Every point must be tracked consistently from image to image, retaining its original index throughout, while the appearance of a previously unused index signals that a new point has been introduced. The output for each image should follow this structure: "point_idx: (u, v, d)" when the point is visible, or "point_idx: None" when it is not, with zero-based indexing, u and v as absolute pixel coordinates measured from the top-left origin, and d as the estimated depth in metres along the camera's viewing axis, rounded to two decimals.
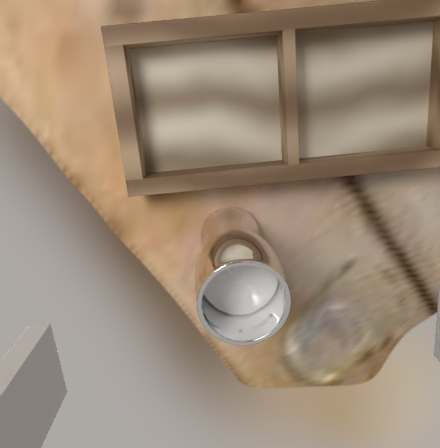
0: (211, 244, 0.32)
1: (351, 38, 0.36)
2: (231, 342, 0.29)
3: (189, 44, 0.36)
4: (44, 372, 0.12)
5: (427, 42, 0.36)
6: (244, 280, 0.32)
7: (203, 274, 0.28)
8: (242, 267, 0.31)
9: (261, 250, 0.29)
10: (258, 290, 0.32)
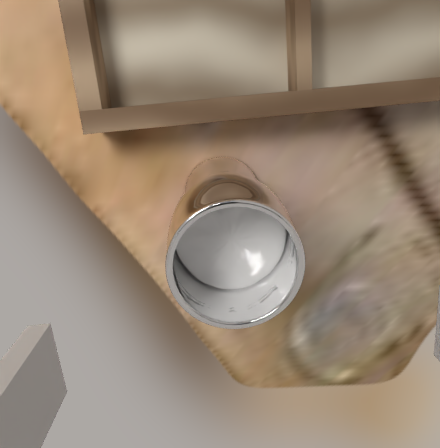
0: (191, 188, 0.22)
1: None
2: (217, 324, 0.20)
3: None
4: (44, 372, 0.12)
5: None
6: (237, 238, 0.23)
7: (176, 224, 0.19)
8: (234, 220, 0.22)
9: (261, 191, 0.20)
10: (257, 254, 0.23)
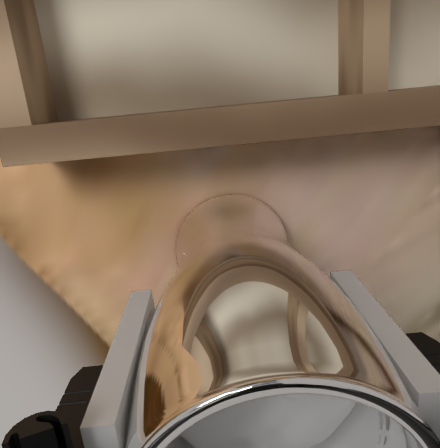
0: (182, 286, 0.11)
1: None
2: None
3: None
4: None
5: None
6: None
7: (144, 406, 0.08)
8: None
9: (335, 316, 0.09)
10: (310, 408, 0.12)
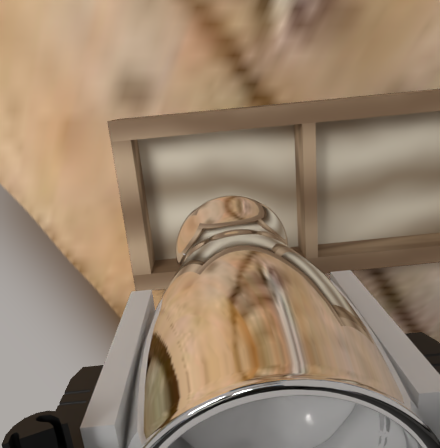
0: (182, 287, 0.11)
1: (373, 124, 0.34)
2: None
3: None
4: None
5: None
6: None
7: (144, 407, 0.08)
8: None
9: (336, 317, 0.09)
10: (310, 409, 0.12)
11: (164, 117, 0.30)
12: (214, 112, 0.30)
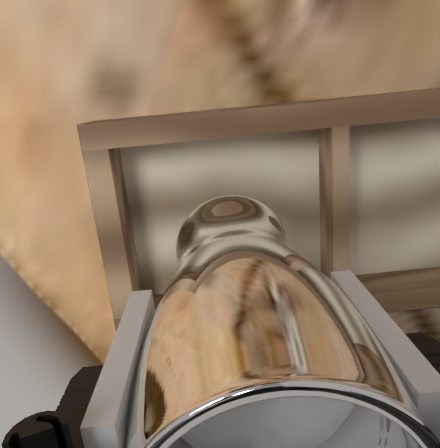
0: (182, 288, 0.11)
1: (419, 127, 0.27)
2: None
3: None
4: None
5: None
6: None
7: (144, 408, 0.08)
8: None
9: (336, 317, 0.09)
10: (310, 410, 0.12)
11: (151, 119, 0.23)
12: (217, 112, 0.23)
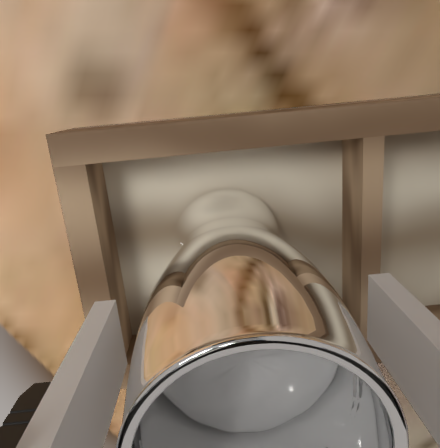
0: (177, 267, 0.13)
1: None
2: None
3: None
4: (113, 342, 0.14)
5: None
6: (257, 356, 0.13)
7: (141, 365, 0.09)
8: None
9: (311, 290, 0.10)
10: (292, 380, 0.13)
11: (139, 128, 0.18)
12: (221, 119, 0.18)
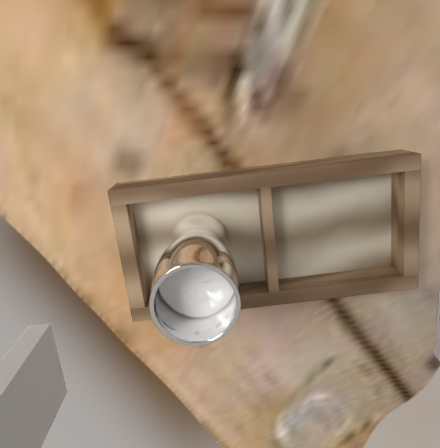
0: (168, 248, 0.33)
1: (321, 183, 0.42)
2: (184, 343, 0.30)
3: None
4: (44, 372, 0.12)
5: (387, 184, 0.42)
6: (200, 282, 0.33)
7: (156, 277, 0.29)
8: (198, 270, 0.32)
9: (213, 253, 0.30)
10: (215, 293, 0.33)
11: (151, 186, 0.38)
12: (190, 181, 0.38)
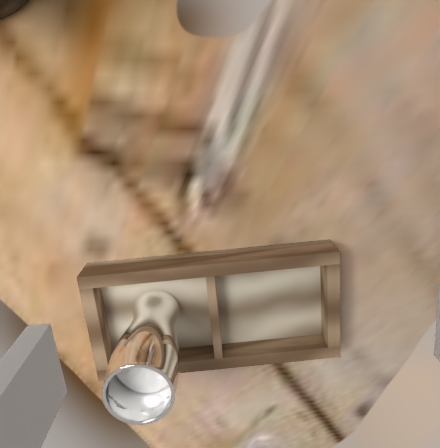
0: (122, 339, 0.40)
1: None
2: (130, 422, 0.37)
3: None
4: (44, 372, 0.12)
5: (316, 269, 0.50)
6: None
7: (108, 370, 0.37)
8: None
9: (156, 350, 0.38)
10: (160, 375, 0.41)
11: (114, 274, 0.46)
12: (147, 271, 0.46)
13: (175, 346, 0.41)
